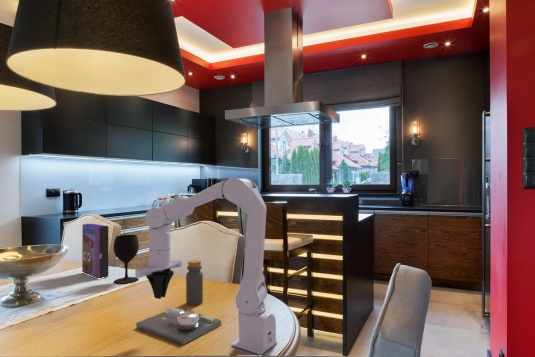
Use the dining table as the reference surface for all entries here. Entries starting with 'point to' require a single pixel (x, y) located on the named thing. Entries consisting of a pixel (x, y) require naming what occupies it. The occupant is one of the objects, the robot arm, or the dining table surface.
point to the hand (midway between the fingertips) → (159, 297)
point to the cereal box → (95, 250)
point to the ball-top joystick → (183, 318)
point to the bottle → (194, 283)
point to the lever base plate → (171, 332)
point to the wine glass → (126, 254)
